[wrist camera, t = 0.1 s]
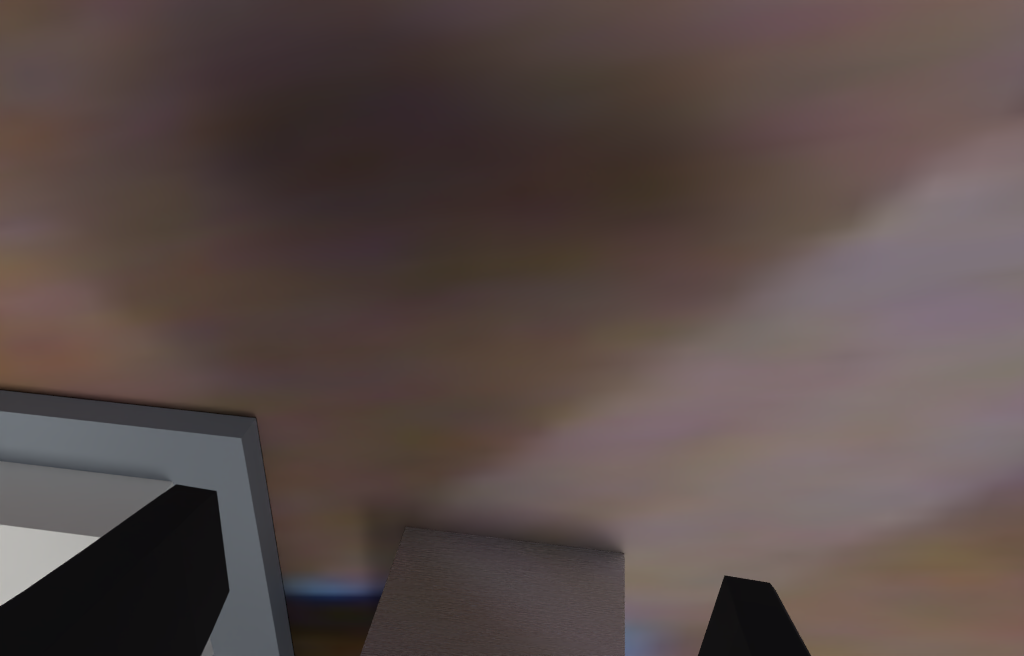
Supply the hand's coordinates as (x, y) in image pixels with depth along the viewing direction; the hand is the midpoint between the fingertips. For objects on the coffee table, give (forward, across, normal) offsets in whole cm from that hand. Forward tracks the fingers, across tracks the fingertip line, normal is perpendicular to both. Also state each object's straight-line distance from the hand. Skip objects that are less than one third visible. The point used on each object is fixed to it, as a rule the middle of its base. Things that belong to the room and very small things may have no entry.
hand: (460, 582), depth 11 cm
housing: (+10, 0, +11) cm, 15 cm away
